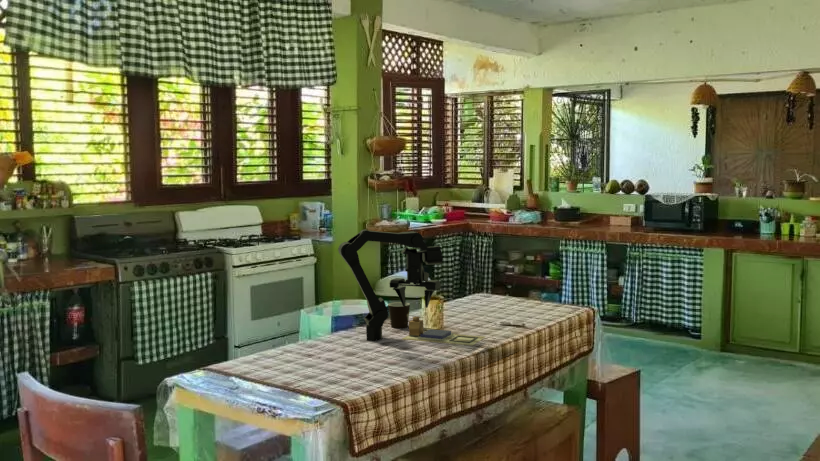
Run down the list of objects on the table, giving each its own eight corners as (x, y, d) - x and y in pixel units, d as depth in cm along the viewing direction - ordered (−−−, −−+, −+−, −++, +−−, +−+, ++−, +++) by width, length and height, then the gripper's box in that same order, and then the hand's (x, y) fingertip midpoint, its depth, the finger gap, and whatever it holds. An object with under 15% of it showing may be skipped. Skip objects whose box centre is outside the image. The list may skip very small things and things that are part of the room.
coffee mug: (401, 332, 295) (400, 307, 294) (384, 330, 300) (383, 305, 299) (419, 326, 304) (418, 302, 303) (402, 324, 309) (401, 300, 308)
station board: (472, 348, 268) (472, 344, 268) (401, 341, 280) (400, 338, 280) (485, 339, 281) (485, 335, 280) (417, 333, 293) (417, 330, 293)
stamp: (419, 337, 282) (418, 318, 282) (409, 336, 284) (408, 317, 283) (423, 334, 286) (423, 316, 285) (413, 334, 288) (413, 315, 287)
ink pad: (443, 341, 275) (442, 336, 275) (418, 339, 279) (417, 334, 279) (453, 335, 284) (453, 330, 284) (429, 333, 288) (429, 328, 288)
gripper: (445, 263, 286) (446, 304, 288) (401, 261, 294) (402, 301, 296) (434, 267, 276) (435, 309, 278) (388, 265, 284) (389, 306, 285)
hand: (415, 306), depth 284 cm, fingers open, 9 cm apart
